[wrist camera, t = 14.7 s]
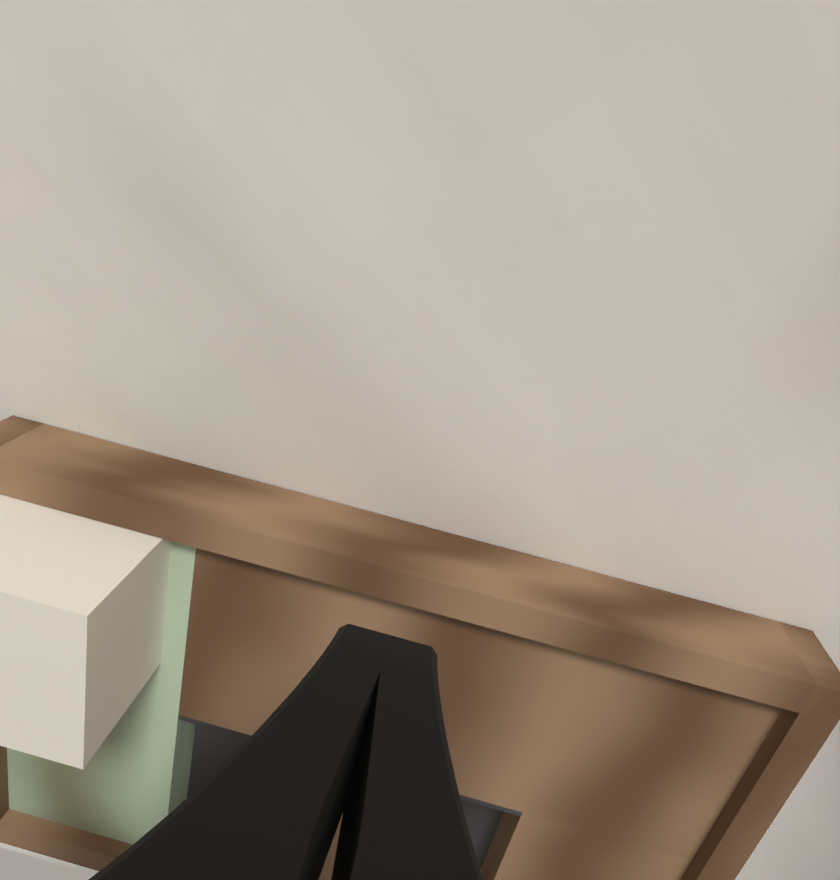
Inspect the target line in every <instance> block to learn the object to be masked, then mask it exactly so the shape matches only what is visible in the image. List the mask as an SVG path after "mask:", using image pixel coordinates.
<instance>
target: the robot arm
mask: <svg viewBox="0 0 840 880" xmlns="http://www.w3.org/2000/svg"><path fill="white" fill-rule="evenodd" d="M342 814H343V815H342ZM341 816H342V821H341V826H340V832H339V838H338V843H337V849H336V855H335V860H334V866H333V871H332V877H331V880H483V878H482V874H481V871H480V868H479V865H478V861H477V858H476V854H475V851H474V847H473V844H472V840H471V837H470V833H469V830H468V827H467V823H466V819H465V815H464V811H463V807H462V804H461V800H460V796H459V791H458V787H457V783H456V778H455V774H454V769H453V765H452V761H451V756H450V752H449V747H448V742H447V737H446V731H445V725H444V719H443V713H442V707H441V700H440V692H439V682H438V668H437V654H436V652H435V651H434V649H433V647H432V646H428V645H425V644H421V643H417V642H414V641H410V640H406V639H403V638H399V637H396V636H392V635H388V634H385V633H381V632H377V631H374V630H370V629H367V628H363V627H359V626H356V625H352V624H346V625H344V626H342V627H340V628H339V629H338V631H337V633H336V634H335V636H334V638H333V639H332V641H331V642H330V644H329V645H328V647H327V648H326V649H325V651H324V652H323V654H322V655H321V656H320V658H319V659H318V660H317V662H316V663H315V664H314V666H313V667H312V668H311V669H310V671H309V672H308V673H307V674H306V675H305V677H304V678H303V679H302V680H301V682H300V683H299V684H298V685H297V686H296V688H295V689H294V690H293V691H292V692H291V693H290V694H289V695H288V697H287V698H286V699H285V700H284V701H283V702H282V703H281V704H280V705H279V707H278V708H277V709H276V710H275V711H274V712H273V713H272V714H271V715H270V717H269V718H268V719H267V720H266V721H265V722H264V723H263V724H262V725H261V726H260V727H259V729H258V730H257V731H256V732H255V733H254V734H253V735H252V736H251V737H250V738H249V739H248V740H247V741H246V742H245V743H244V744H243V745H242V746H241V747H240V748H239V749H238V750H237V751H236V752H235V753H234V754H233V755H232V756H231V757H229V758H228V759H227V760H226V761H225V762H224V763H223V764H222V765H221V766H220V767H219V768H218V769H217V770H216V771H215V772H214V773H213V774H212V775H211V776H210V777H209V778H208V779H207V780H206V781H205V782H204V783H203V784H202V785H201V786H200V787H198V788H197V789H196V790H195V791H194V792H193V793H192V794H191V795H190V796H189V797H187V798H186V799H185V800H184V801H183V802H182V803H181V804H180V805H179V806H177V807H176V808H175V809H174V810H173V811H172V812H171V813H170V814H168V815H167V816H166V817H165V818H164V819H163V820H161V821H160V822H159V823H158V824H157V825H156V826H154V827H153V828H152V829H151V830H150V831H148V832H147V833H146V834H145V835H144V836H143V837H141V838H140V839H139V840H138V841H137V842H136V843H134V844H133V845H132V846H131V847H129V848H128V849H127V850H126V851H125V852H123V853H122V854H121V855H120V856H118V857H117V858H116V859H114V860H113V861H112V862H111V863H109V864H108V865H107V866H106V867H104V868H103V869H102V870H101V871H99V872H98V873H97V874H95V875H94V876H93V877H92V878H90V879H89V880H319V877H320V875H321V872H322V869H323V866H324V864H325V861H326V858H327V855H328V852H329V850H330V847H331V844H332V841H333V839H334V836H335V833H336V830H337V827H338V825H339V822H340V819H341Z"/></svg>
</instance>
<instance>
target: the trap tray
mask: <svg viewBox="0 0 840 880" xmlns="http://www.w3.org/2000/svg"><path fill="white" fill-rule="evenodd" d="M0 494H2V495H5V496H9V497H12V498H16V499H20V500H23V501H27V502H31V503H34V504H38V505H42V506H45V507H49V508H53V509H56V510H60V511H64V512H67V513H71V514H75V515H78V516H82V517H85V518H89V519H93V520H96V521H100V522H104V523H107V524H111V525H115V526H118V527H122V528H126V529H129V530H133V531H137V532H140V533H144V534H148V535H151V536H155V537H158V538H162V539H166V540H169V541H171V552H170V564H169V575H168V587H167V598H166V610H165V621H164V633H163V644H162V656H161V663H160V665H159V666H158V667H157V669H156V670H155V671H154V673H153V674H152V676H151V677H150V678H149V680H148V681H147V682H146V684H145V685H144V687H143V688H142V689H141V691H140V692H139V693H138V695H137V696H136V698H135V699H134V700H133V702H132V703H131V704H130V706H129V707H128V709H127V710H126V711H125V713H124V714H123V715H122V717H121V718H120V720H119V721H118V722H117V724H116V725H115V726H114V728H113V729H112V731H111V732H110V733H109V735H108V736H107V737H106V739H105V740H104V742H103V743H102V744H101V746H100V747H99V748H98V750H97V751H96V753H95V754H94V755H93V757H92V758H91V759H90V761H89V762H88V764H87V765H86V766H85V768H84V769H79V768H76V767H72V766H69V765H66V764H62V763H59V762H55V761H52V760H48V759H45V758H41V757H38V756H34V755H31V754H27V753H24V752H20V751H17V750H13V749H10V748H6V747H3V746H0V842H2V843H5V844H9V845H12V846H15V847H19V848H22V849H26V850H29V851H32V852H36V853H39V854H43V855H46V856H49V857H53V858H56V859H60V860H63V861H66V862H70V863H73V864H77V865H80V866H84V867H87V868H90V869H94V870H97V871H101V870H102V869H103V868H104V867H106V866H107V865H108V864H109V863H111V862H112V861H113V860H114V859H116V858H117V857H118V856H120V855H121V854H122V853H123V852H125V851H126V850H127V849H128V848H129V847H131V846H132V845H133V844H134V843H136V842H137V841H138V840H139V839H140V838H141V837H143V836H144V835H145V834H146V833H147V832H148V831H150V830H151V829H152V828H153V827H154V826H156V825H157V824H158V823H159V822H160V821H161V820H163V819H164V818H165V817H166V816H167V815H168V814H170V813H171V812H172V811H173V810H174V809H175V808H176V807H177V806H179V805H180V804H181V803H182V802H183V801H184V800H185V799H186V798H187V797H189V796H190V795H191V794H192V793H193V792H194V791H195V790H196V789H197V788H198V787H200V786H201V785H202V784H203V783H204V782H205V781H206V780H207V779H208V778H209V777H210V776H211V775H212V774H213V773H214V772H215V771H216V770H217V769H218V768H219V767H220V766H221V765H222V764H223V763H224V762H225V761H226V760H227V759H228V758H229V757H231V756H232V755H233V754H234V753H235V752H236V751H237V750H238V749H239V748H240V747H241V746H242V745H243V744H244V743H245V742H246V741H247V740H248V739H249V738H250V737H251V736H252V735H253V734H254V733H255V732H256V731H257V730H258V729H259V727H260V726H261V725H262V724H263V723H264V722H265V721H266V720H267V719H268V718H269V717H270V715H271V714H272V713H273V712H274V711H275V710H276V709H277V708H278V707H279V705H280V704H281V703H282V702H283V701H284V700H285V699H286V698H287V697H288V695H289V694H290V693H291V692H292V691H293V690H294V689H295V688H296V686H297V685H298V684H299V683H300V682H301V680H302V679H303V678H304V677H305V675H306V674H307V673H308V672H309V671H310V669H311V668H312V667H313V666H314V664H315V663H316V662H317V660H318V659H319V658H320V656H321V655H322V654H323V652H324V651H325V649H326V648H327V647H328V645H329V644H330V642H331V641H332V639H333V638H334V636H335V634H336V633H337V631H338V629H339V628H340V627H342V626H344V625H346V624H352V625H356V626H359V627H363V628H367V629H370V630H374V631H377V632H381V633H385V634H388V635H392V636H396V637H399V638H403V639H406V640H410V641H414V642H417V643H421V644H425V645H428V646H432V647H433V649H434V651H435V652H436V654H437V668H438V682H439V692H440V700H441V707H442V713H443V719H444V725H445V731H446V737H447V742H448V747H449V752H450V756H451V761H452V765H453V769H454V774H455V778H456V783H457V787H458V791H459V796H460V800H461V804H462V807H463V811H464V815H465V819H466V823H467V827H468V830H469V833H470V837H471V840H472V844H473V847H474V851H475V854H476V858H477V861H478V865H479V868H480V871H481V874H482V878H483V880H735V878H736V877H737V875H738V874H739V872H740V871H741V869H742V867H743V866H744V864H745V863H746V861H747V860H748V858H749V857H750V855H751V854H752V852H753V851H754V849H755V848H756V846H757V845H758V843H759V842H760V840H761V838H762V837H763V835H764V834H765V832H766V831H767V829H768V828H769V826H770V825H771V823H772V822H773V820H774V819H775V817H776V816H777V814H778V813H779V811H780V810H781V808H782V806H783V805H784V803H785V802H786V800H787V799H788V797H789V796H790V794H791V793H792V791H793V790H794V788H795V787H796V785H797V784H798V782H799V781H800V779H801V777H802V776H803V774H804V773H805V771H806V770H807V768H808V767H809V765H810V764H811V762H812V761H813V759H814V758H815V756H816V755H817V753H818V752H819V750H820V749H821V747H822V745H823V744H824V742H825V741H826V739H827V738H828V736H829V735H830V733H831V732H832V730H833V729H834V727H835V726H836V724H837V723H838V721H839V720H840V672H839V670H838V669H837V667H836V666H835V664H834V663H833V661H832V660H831V658H830V657H829V655H828V654H827V652H826V651H825V649H824V648H823V646H822V645H821V643H820V642H819V640H818V639H817V637H816V636H815V634H814V633H813V631H811V630H807V629H803V628H800V627H796V626H792V625H788V624H785V623H781V622H777V621H774V620H770V619H766V618H762V617H759V616H755V615H751V614H748V613H744V612H740V611H736V610H733V609H729V608H725V607H722V606H718V605H714V604H711V603H707V602H703V601H699V600H696V599H692V598H688V597H685V596H681V595H677V594H673V593H670V592H666V591H662V590H659V589H655V588H651V587H647V586H644V585H640V584H636V583H633V582H629V581H625V580H621V579H618V578H614V577H610V576H607V575H603V574H599V573H595V572H592V571H588V570H584V569H581V568H577V567H573V566H569V565H566V564H562V563H558V562H555V561H551V560H547V559H543V558H540V557H536V556H532V555H529V554H525V553H521V552H517V551H514V550H510V549H506V548H503V547H499V546H495V545H491V544H488V543H484V542H480V541H477V540H473V539H469V538H466V537H462V536H458V535H454V534H451V533H447V532H443V531H440V530H436V529H432V528H428V527H425V526H421V525H417V524H414V523H410V522H406V521H402V520H399V519H395V518H391V517H388V516H384V515H380V514H376V513H373V512H369V511H365V510H362V509H358V508H354V507H350V506H347V505H343V504H339V503H336V502H332V501H328V500H324V499H321V498H317V497H313V496H310V495H306V494H302V493H298V492H295V491H291V490H287V489H284V488H280V487H276V486H272V485H269V484H265V483H261V482H258V481H254V480H250V479H246V478H243V477H239V476H235V475H232V474H228V473H224V472H220V471H217V470H213V469H209V468H206V467H202V466H198V465H195V464H191V463H187V462H183V461H180V460H176V459H172V458H169V457H165V456H161V455H157V454H154V453H150V452H146V451H143V450H139V449H135V448H131V447H128V446H124V445H120V444H117V443H113V442H109V441H105V440H102V439H98V438H94V437H91V436H87V435H83V434H79V433H76V432H72V431H68V430H65V429H61V428H57V427H53V426H50V425H46V424H42V423H39V422H35V421H31V420H27V419H24V418H20V417H16V416H11V417H8V418H6V419H4V420H2V421H0ZM342 815H343V814H342ZM341 821H342V816H341V819H340V822H339V825H338V827H337V830H336V833H335V836H334V839H333V841H332V844H331V847H330V850H329V852H328V855H327V858H326V861H325V864H324V866H323V869H322V872H321V875H320V877H319V880H331V877H332V871H333V866H334V860H335V855H336V849H337V843H338V838H339V832H340V826H341Z"/></svg>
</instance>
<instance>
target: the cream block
mask: <svg viewBox="0 0 840 880" xmlns="http://www.w3.org/2000/svg"><path fill="white" fill-rule="evenodd" d="M170 552H171V541H169V540H166V539H162V538H158V537H155V536H151V535H148V534H144V533H140V532H137V531H133V530H129V529H126V528H122V527H118V526H115V525H111V524H107V523H104V522H100V521H96V520H93V519H89V518H85V517H82V516H78V515H75V514H71V513H67V512H64V511H60V510H56V509H53V508H49V507H45V506H42V505H38V504H34V503H31V502H27V501H23V500H20V499H16V498H12V497H9V496H5V495H2V494H0V746H3V747H6V748H10V749H13V750H17V751H20V752H24V753H27V754H31V755H34V756H38V757H41V758H45V759H48V760H52V761H55V762H59V763H62V764H66V765H69V766H72V767H76V768H79V769H84V768H85V766H86V765H87V764H88V762H89V761H90V759H91V758H92V757H93V755H94V754H95V753H96V751H97V750H98V748H99V747H100V746H101V744H102V743H103V742H104V740H105V739H106V737H107V736H108V735H109V733H110V732H111V731H112V729H113V728H114V726H115V725H116V724H117V722H118V721H119V720H120V718H121V717H122V715H123V714H124V713H125V711H126V710H127V709H128V707H129V706H130V704H131V703H132V702H133V700H134V699H135V698H136V696H137V695H138V693H139V692H140V691H141V689H142V688H143V687H144V685H145V684H146V682H147V681H148V680H149V678H150V677H151V676H152V674H153V673H154V671H155V670H156V669H157V667H158V666H159V665H160V663H161V656H162V644H163V633H164V621H165V610H166V598H167V587H168V575H169V564H170Z"/></svg>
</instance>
